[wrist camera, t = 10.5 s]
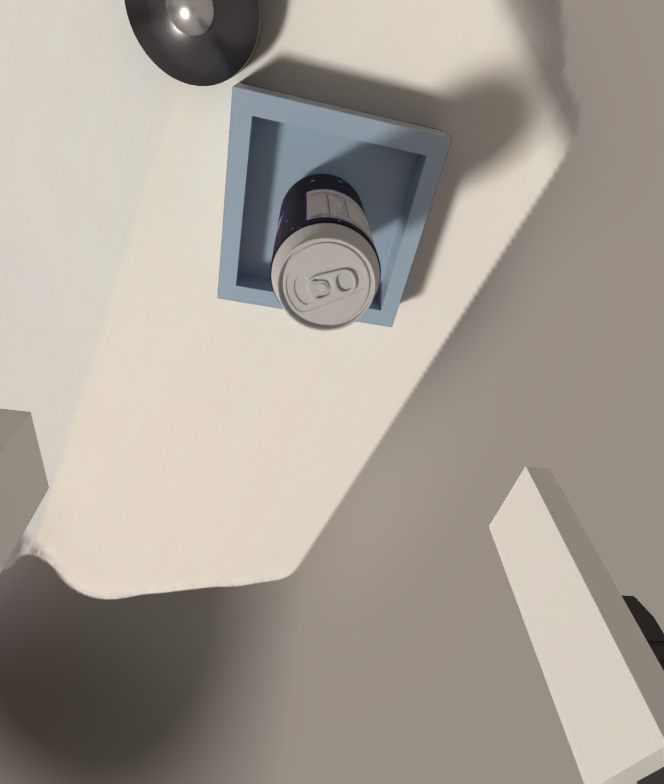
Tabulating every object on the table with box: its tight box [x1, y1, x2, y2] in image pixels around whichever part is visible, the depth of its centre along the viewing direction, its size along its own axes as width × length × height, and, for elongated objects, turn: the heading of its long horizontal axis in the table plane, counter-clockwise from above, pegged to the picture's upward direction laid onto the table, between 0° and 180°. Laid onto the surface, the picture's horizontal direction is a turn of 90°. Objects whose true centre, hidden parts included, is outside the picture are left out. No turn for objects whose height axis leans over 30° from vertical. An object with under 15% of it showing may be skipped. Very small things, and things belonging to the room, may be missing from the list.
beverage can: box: [270, 174, 381, 331], centre depth 28 cm, size 6×6×12 cm
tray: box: [218, 83, 452, 327], centre depth 32 cm, size 13×13×3 cm
